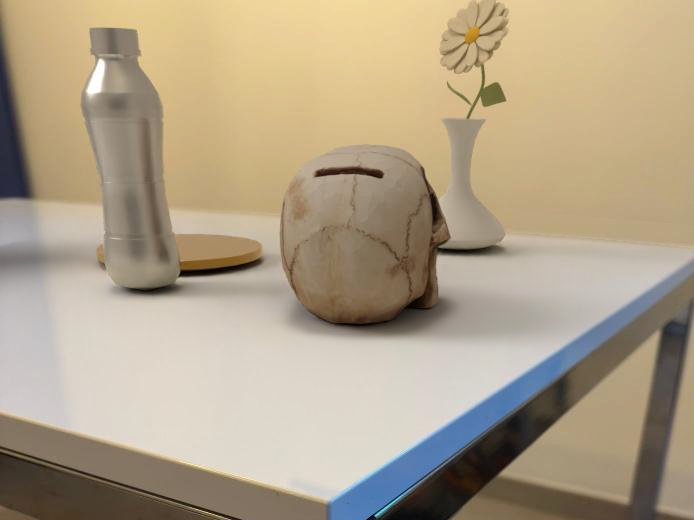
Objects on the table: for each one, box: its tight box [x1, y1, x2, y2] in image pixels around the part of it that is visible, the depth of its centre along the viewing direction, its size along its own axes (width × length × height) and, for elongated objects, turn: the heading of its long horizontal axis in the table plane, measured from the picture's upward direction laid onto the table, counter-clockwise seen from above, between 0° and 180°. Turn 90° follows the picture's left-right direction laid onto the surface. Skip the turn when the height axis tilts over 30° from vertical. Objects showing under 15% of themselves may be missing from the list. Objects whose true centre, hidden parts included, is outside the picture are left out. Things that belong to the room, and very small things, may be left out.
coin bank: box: [279, 143, 451, 325], centre depth 63 cm, size 16×17×13 cm
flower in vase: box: [438, 0, 510, 250], centre depth 87 cm, size 13×11×25 cm
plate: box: [95, 233, 264, 273], centre depth 82 cm, size 17×17×2 cm
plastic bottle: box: [79, 27, 181, 291], centre depth 66 cm, size 6×7×20 cm
